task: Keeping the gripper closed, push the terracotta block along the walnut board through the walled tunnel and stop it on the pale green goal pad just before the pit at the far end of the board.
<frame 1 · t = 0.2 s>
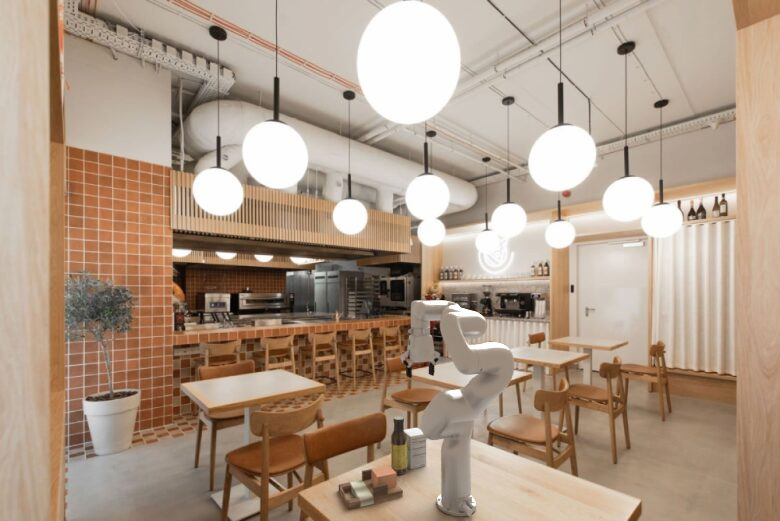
hand: (420, 376, 143), 36 cm above the table, tool pointing down, fingers open, 9 cm apart
tunnel board: (370, 493, 125), on the table
terracotta block: (383, 484, 127), point 2 cm above the table, touching tunnel board
sauce bottle: (399, 471, 140), on the table
supplement box: (414, 464, 146), on the table
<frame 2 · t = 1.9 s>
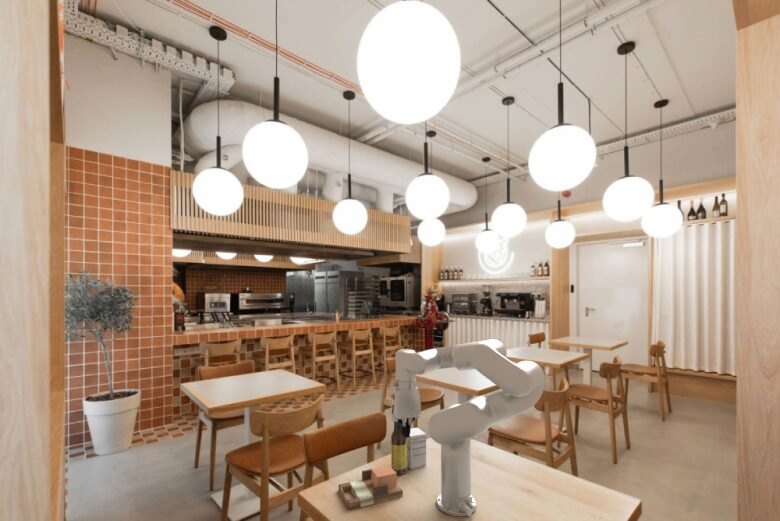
hand: (405, 436, 132), 17 cm above the table, tool pointing down, fingers closed
nothing on the table moved.
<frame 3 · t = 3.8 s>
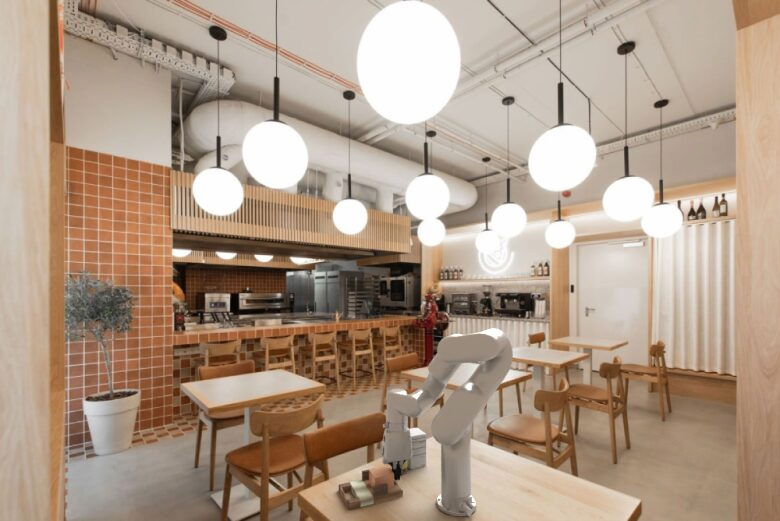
hand: (396, 478, 129), 3 cm above the table, tool pointing down, fingers closed
terracotta block: (381, 485, 127), point 2 cm above the table, touching gripper, tunnel board
everything else where it was.
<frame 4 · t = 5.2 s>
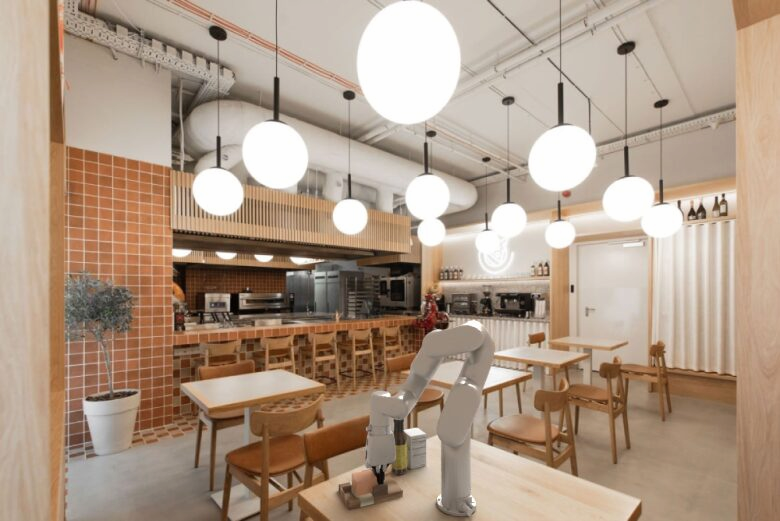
hand: (379, 482, 127), 3 cm above the table, tool pointing down, fingers closed
terracotta block: (363, 489, 124), point 2 cm above the table, touching gripper, tunnel board
everything else where it was.
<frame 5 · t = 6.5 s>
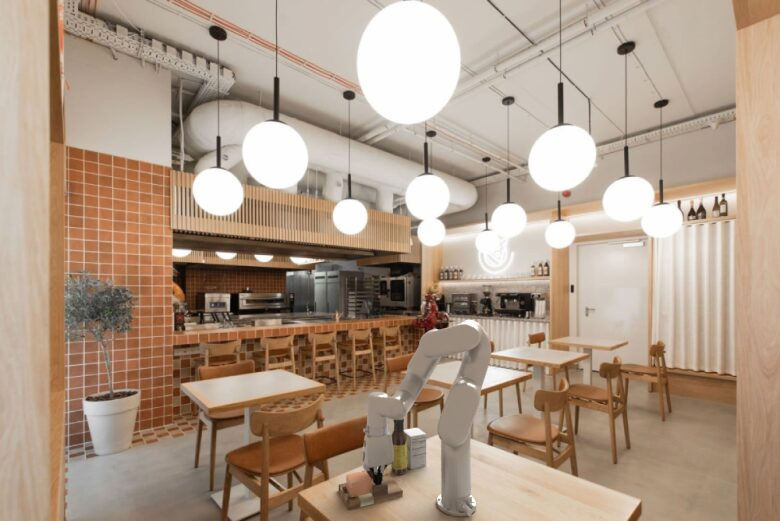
hand: (377, 484, 126), 3 cm above the table, tool pointing down, fingers closed
terracotta block: (358, 490, 123), point 2 cm above the table, touching tunnel board
everything else where it was.
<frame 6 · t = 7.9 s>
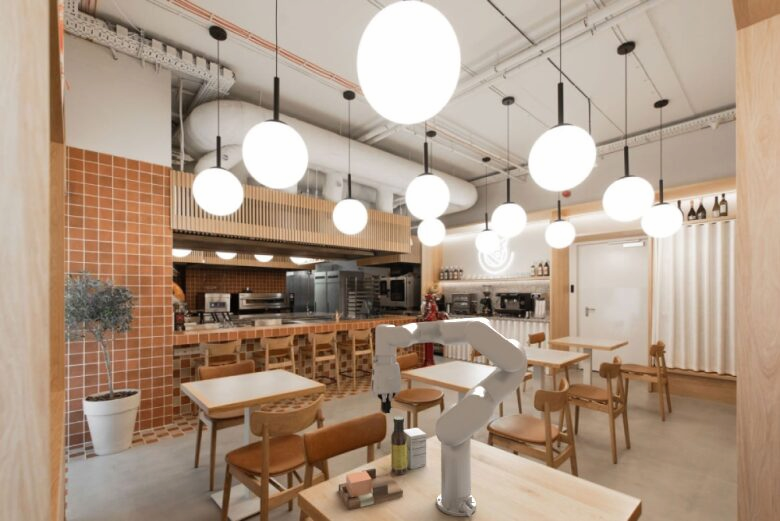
hand: (386, 412, 129), 26 cm above the table, tool pointing down, fingers closed
nothing on the table moved.
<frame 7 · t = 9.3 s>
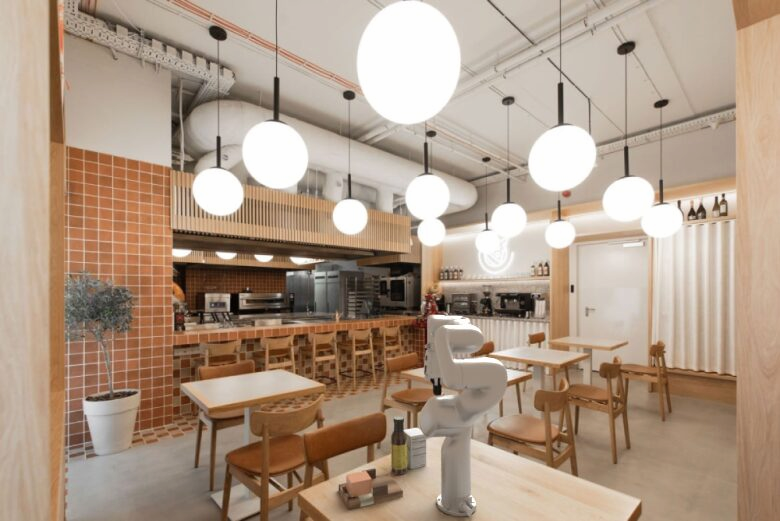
hand: (437, 394, 141), 29 cm above the table, tool pointing down, fingers closed
nothing on the table moved.
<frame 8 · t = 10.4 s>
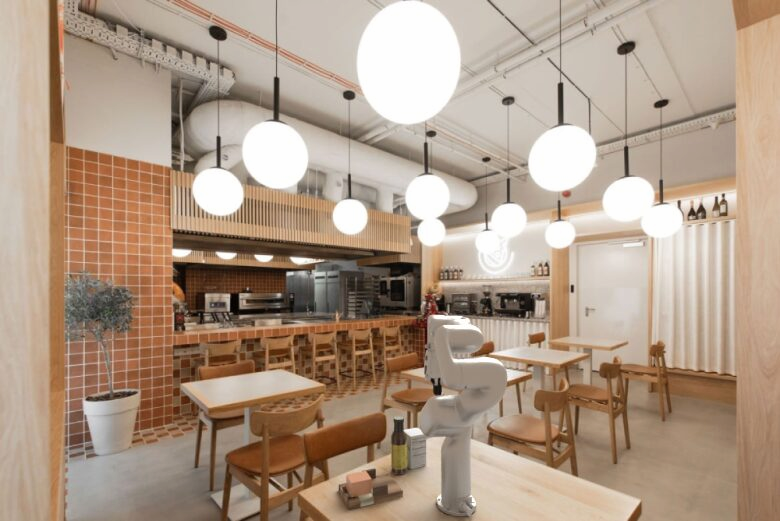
hand: (437, 394, 141), 29 cm above the table, tool pointing down, fingers closed
nothing on the table moved.
at the end: terracotta block 1.5 cm from the target spot on the tunnel board, point 2.0 cm above the tunnel board's base; terracotta block tilted 0° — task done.
